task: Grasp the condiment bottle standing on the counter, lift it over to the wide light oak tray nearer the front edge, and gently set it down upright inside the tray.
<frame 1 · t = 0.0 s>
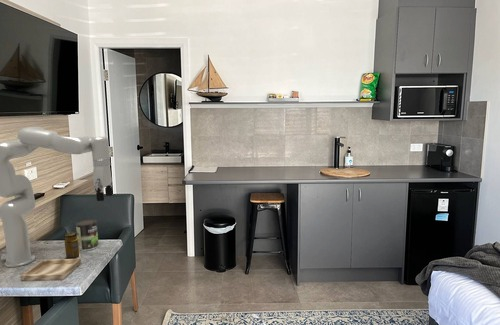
hand: (105, 198, 165), 31 cm above the table, tool pointing down, fingers open, 9 cm apart
coffee can: (88, 247, 186), on the table
tray: (52, 272, 158), on the table
condiment: (72, 257, 174), on the table
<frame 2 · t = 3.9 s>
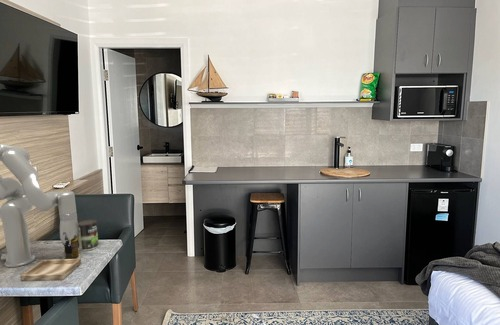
hand: (72, 250, 173), 4 cm above the table, tool pointing down, fingers closed on condiment, 6 cm apart
condiment: (72, 258, 173), on the table, touching gripper
everything else where it was.
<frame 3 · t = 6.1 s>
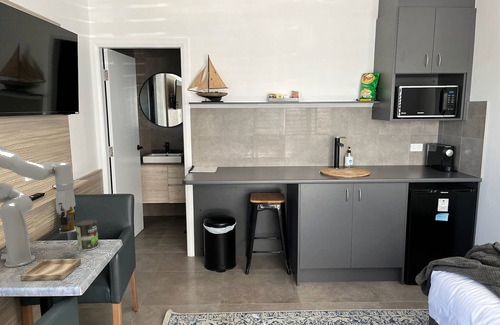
hand: (68, 222, 171), 18 cm above the table, tool pointing down, fingers closed on condiment, 6 cm apart
condiment: (67, 230, 170), point 15 cm above the table, touching gripper
everything else where it was.
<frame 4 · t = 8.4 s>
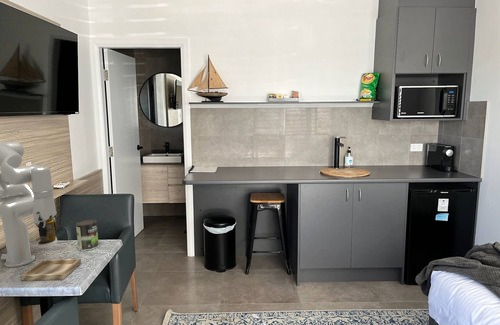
hand: (47, 232, 155), 19 cm above the table, tool pointing down, fingers closed on condiment, 6 cm apart
condiment: (47, 241, 155), point 15 cm above the table, touching gripper
everything else where it was.
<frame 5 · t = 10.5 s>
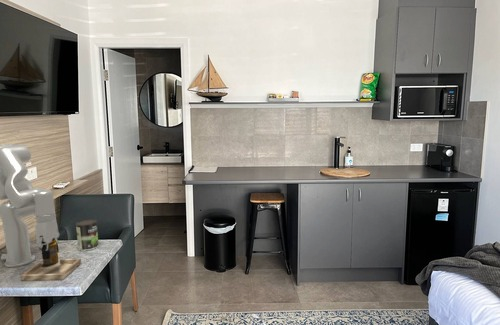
hand: (50, 255, 156), 8 cm above the table, tool pointing down, fingers closed on condiment, 6 cm apart
condiment: (50, 264, 156), point 4 cm above the table, touching gripper
everything else where it was.
when the fingers open (5 cm above the table, at t = 12.6 s): condiment drops 1 cm, resting on tray.
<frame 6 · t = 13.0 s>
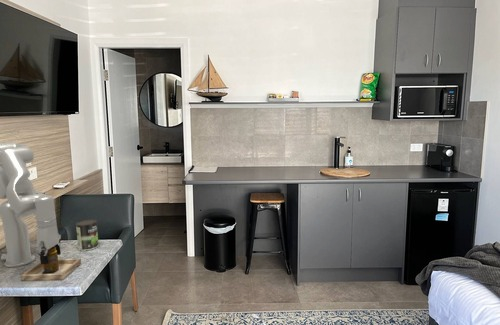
hand: (51, 259, 157), 6 cm above the table, tool pointing down, fingers open, 9 cm apart
condiment: (51, 271, 157), resting on tray
everything else where it was.
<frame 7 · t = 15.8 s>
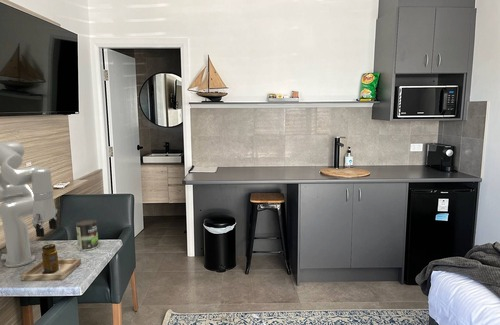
hand: (47, 232, 155), 19 cm above the table, tool pointing down, fingers open, 9 cm apart
nothing on the table moved.
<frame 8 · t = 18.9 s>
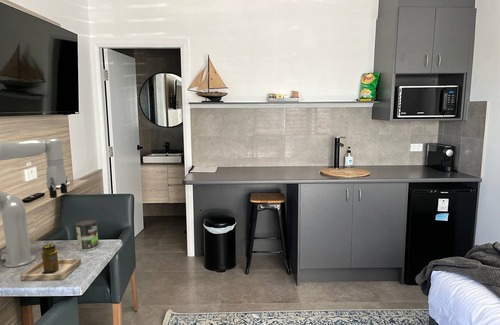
hand: (59, 195, 177), 30 cm above the table, tool pointing down, fingers open, 9 cm apart
nothing on the table moved.
at the end: condiment inside the target area on the tray (0.7 cm from its centre), point 0.4 cm above the tray's base; condiment tilted 0°; the gripper is holding nothing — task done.
